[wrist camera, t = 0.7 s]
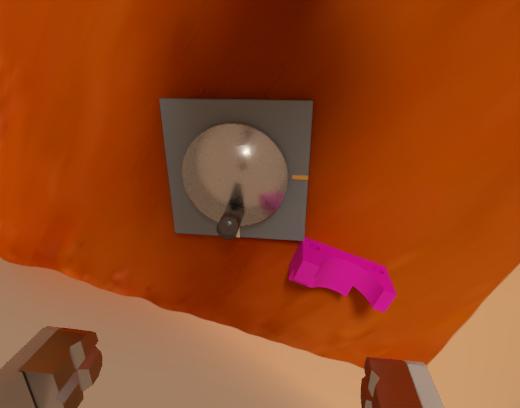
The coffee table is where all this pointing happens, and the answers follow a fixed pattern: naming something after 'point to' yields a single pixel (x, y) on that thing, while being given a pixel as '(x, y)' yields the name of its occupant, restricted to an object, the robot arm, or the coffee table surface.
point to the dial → (235, 175)
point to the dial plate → (255, 114)
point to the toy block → (341, 273)
